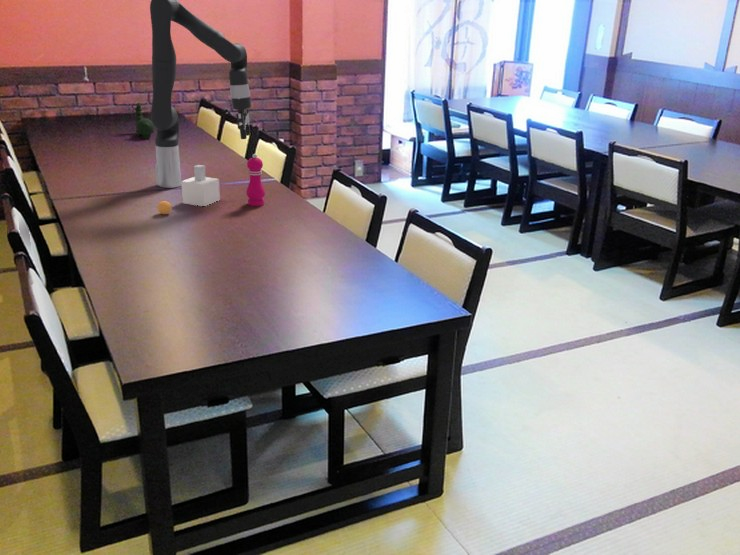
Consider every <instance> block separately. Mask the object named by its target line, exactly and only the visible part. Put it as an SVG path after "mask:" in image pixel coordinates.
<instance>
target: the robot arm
mask: <svg viewBox="0 0 740 555" xmlns="http://www.w3.org/2000/svg"><path fill="white" fill-rule="evenodd" d="M149 10H150V22H151V32H152V33H151V34H152V36H151V40H152V41H151V46H152V48H151V53H152V54H151V69H152V70H151V72H152V74H151V75H152V101H151V103H152V104H151V111H150V120H151V121H152V123H153V125H154V128H155V129H156V134H155V135H156V136H155V138H154V144H155V155H156V162H155V163H154V168H155V178H156V179H155V180H156V186H158V187H160V188H164V189H165V188H167V189H168V188H169V189H171V188H178V187H180V186H181V187H182V183H181V181H182V178H181V177H182V176H181V164H180V161H181V160H180V150H179V149H180V148H179V138H180V123H179V120H180V119H179V115H178V111H177V109H176V108H175V107H173V106H172V94H173V90H174V86H175V82H176V75H177V55H176V50H175V46H174V44H173V41H172V36H171V29H172V28H171V22H174V23H176V24H178V25H180V26H182V27H183V28H185V29H186V30H188V31H189V32H190V33H191V34H192V35H193V36H194V37H195V38H196V39H197V40H198V41H200V42H201V43H203V44H204V45H205V46H207V47H209V48H210V49H211V50H213V51H215V53H216V54H218V55H219V56H220V57H222V59H224V60H225V61H226V62H228V63H230V70H229V73H228V78H229V85H230V90H229V91H230V99H231V106H232V110H237V113H235V114H236V123H237V130H239V135H240V139H241V140H246V139H247V136H250V135H251V129H250V125H251V118H250V116H251V115H250V109H251V108H252V99H251V92H250V91H251V90H250V87H249V82H248V81H249V80H248V72H247V69H248V53H247V50H246V47H245V46H244V45H243V44H241V43H239V42H237V43H236V42H235V43H233V42H231V41H230V40H228V39H227V38H226V37H225V34H224V33H222V32H220V31H219V30H217V29H215V28H214V27H213V26H211V25H209V24H208V23H206V22H205V21H203V20H202V19H200V18H199V17H198V16H196V15H195V14H193V13H192V12H191V11H190V10H188V9H187V8H186V7H185V6H184V5H183V4H182V3H181V2H180V1H178V0H151V1H150V4H149Z"/></svg>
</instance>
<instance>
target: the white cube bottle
mask: <svg viewBox="0 0 740 555" xmlns="http://www.w3.org/2000/svg"><path fill="white" fill-rule="evenodd" d="M193 171H194V172H193V174H194V176H192V177H190V178H186V179H184V180H181V192H182V193H181V196H182V204H185V205H186V204H187V205H192V206H197V205H198V206H197V207H202V206H206V207H208V206H210V205H209V204H211V205H213V204H215V203H217V202H216V201H218V202H220V201H221V193H220V191H221V190H220V179H219V178H214V177H209V176H206V165H203V164H202V165H201V164H197V165H194V166H193ZM219 200H220V201H219ZM214 202H215V203H214ZM212 203H213V204H212ZM207 205H208V206H207Z"/></svg>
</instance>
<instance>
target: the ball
mask: <svg viewBox="0 0 740 555" xmlns="http://www.w3.org/2000/svg"><path fill="white" fill-rule="evenodd" d="M156 208H157V211H158V212H159V213H160V214H161V215H168V214H170V213H171V211H172V205H171V203H170V202H169V201H167V200H162V201H159V202H158V204H157V207H156Z"/></svg>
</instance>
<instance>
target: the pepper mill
mask: <svg viewBox="0 0 740 555" xmlns="http://www.w3.org/2000/svg"><path fill="white" fill-rule="evenodd" d="M263 165H264V162H263V161H262V159H261V158H258V155H257V153H252V157H251V158H249V159H248V160H247V163H246V167H247V169H248V174H249V183H248V186H247V188H246V196H247V198H248V199H247V204H248V206H250V205H251V206H252V207H260V206H263V205H265V199H264V198H265V195H266V191H265V187H264V185H263V182H262V178H261V175H262V174H263V173H262V168H263Z"/></svg>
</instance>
